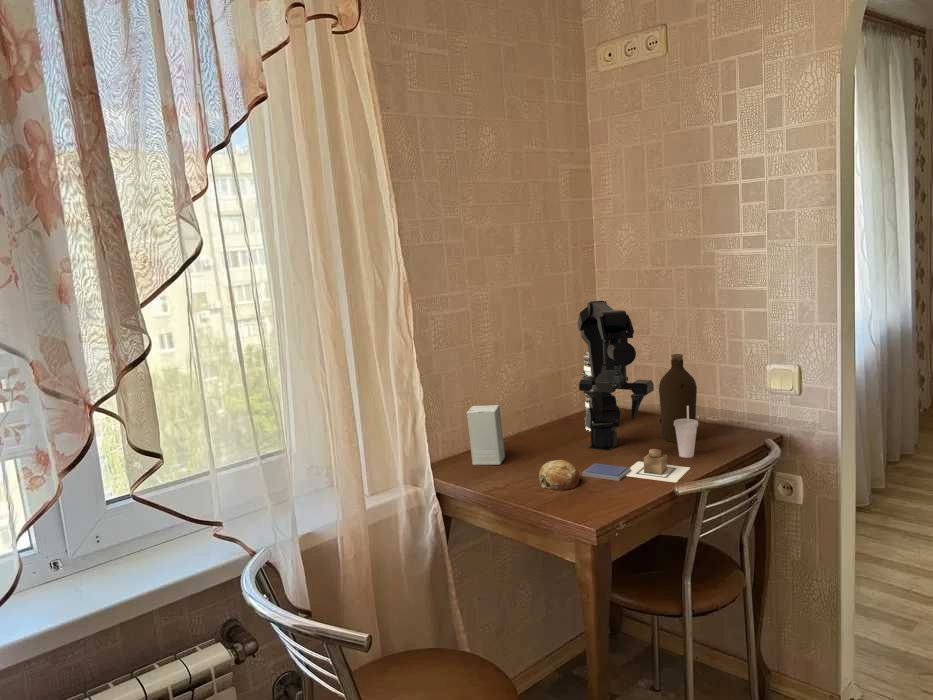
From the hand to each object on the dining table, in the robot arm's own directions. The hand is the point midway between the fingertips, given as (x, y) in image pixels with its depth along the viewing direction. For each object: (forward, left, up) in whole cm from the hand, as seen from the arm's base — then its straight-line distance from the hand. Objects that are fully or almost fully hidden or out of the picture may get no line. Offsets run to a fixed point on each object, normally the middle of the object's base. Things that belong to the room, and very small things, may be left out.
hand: (616, 417), depth 189 cm
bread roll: (-8, -19, -13) cm, 25 cm away
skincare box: (-34, -11, -13) cm, 38 cm away
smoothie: (+14, +14, -13) cm, 24 cm away
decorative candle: (-19, +32, -13) cm, 39 cm away
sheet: (+11, -2, -13) cm, 17 cm away
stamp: (+11, -2, -13) cm, 17 cm away
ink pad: (0, -8, -13) cm, 15 cm away
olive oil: (+7, +30, -13) cm, 34 cm away
